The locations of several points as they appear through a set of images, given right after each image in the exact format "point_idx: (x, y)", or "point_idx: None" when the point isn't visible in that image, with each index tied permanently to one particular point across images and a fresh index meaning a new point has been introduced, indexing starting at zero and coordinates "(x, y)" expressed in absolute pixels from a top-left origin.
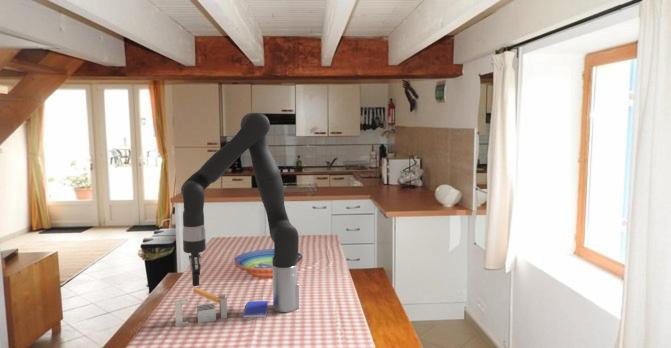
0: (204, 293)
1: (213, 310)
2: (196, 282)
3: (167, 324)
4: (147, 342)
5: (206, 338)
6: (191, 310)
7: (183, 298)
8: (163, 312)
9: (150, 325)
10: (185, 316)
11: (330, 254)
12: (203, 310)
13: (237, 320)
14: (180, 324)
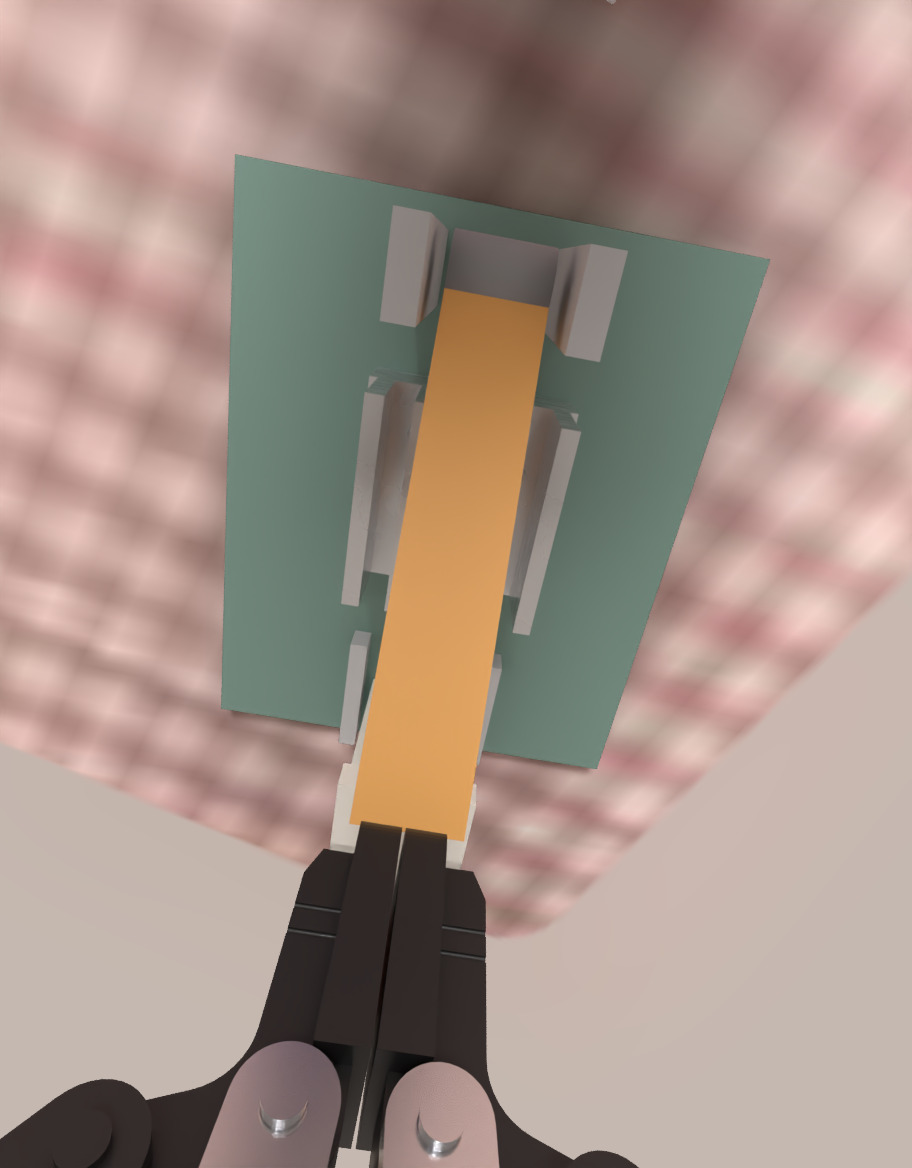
0: (491, 652)
1: (572, 455)
2: (443, 932)
3: (347, 757)
4: (574, 903)
5: (817, 573)
6: (120, 526)
7: (335, 821)
8: (82, 735)
9: (305, 848)
10: (360, 662)
11: None
12: (530, 574)
13: (647, 125)
14: (488, 722)
